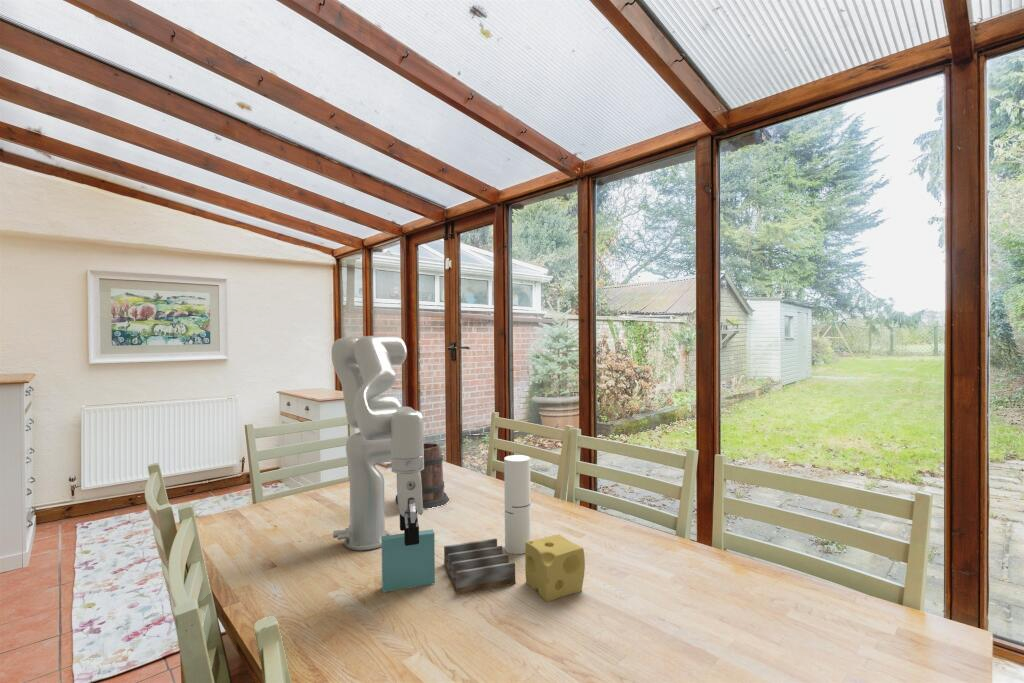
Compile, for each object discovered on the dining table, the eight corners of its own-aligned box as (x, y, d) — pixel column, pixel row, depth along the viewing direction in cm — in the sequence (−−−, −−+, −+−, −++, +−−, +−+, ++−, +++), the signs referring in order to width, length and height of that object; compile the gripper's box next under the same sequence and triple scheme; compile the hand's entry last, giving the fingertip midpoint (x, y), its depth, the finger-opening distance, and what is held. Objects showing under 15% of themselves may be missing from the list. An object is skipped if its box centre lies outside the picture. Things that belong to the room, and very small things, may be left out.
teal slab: (382, 592, 111) (382, 540, 111) (381, 587, 113) (381, 536, 113) (434, 583, 115) (434, 533, 115) (433, 578, 117) (432, 529, 117)
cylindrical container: (528, 555, 129) (527, 461, 129) (502, 553, 131) (501, 460, 131) (532, 544, 136) (532, 455, 136) (507, 542, 138) (507, 454, 138)
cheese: (546, 603, 106) (546, 557, 106) (523, 581, 116) (522, 539, 116) (585, 591, 111) (585, 548, 111) (559, 571, 120) (559, 531, 120)
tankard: (422, 491, 185) (421, 439, 185) (459, 497, 177) (458, 443, 177) (378, 510, 164) (378, 451, 164) (418, 519, 156) (417, 457, 156)
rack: (457, 594, 110) (457, 573, 110) (444, 564, 125) (443, 545, 125) (515, 583, 115) (515, 563, 115) (496, 555, 129) (495, 538, 129)
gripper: (429, 470, 107) (431, 548, 107) (418, 454, 123) (419, 522, 123) (395, 473, 104) (396, 553, 104) (388, 457, 121) (389, 526, 120)
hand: (409, 536), depth 113 cm, fingers open, 9 cm apart
